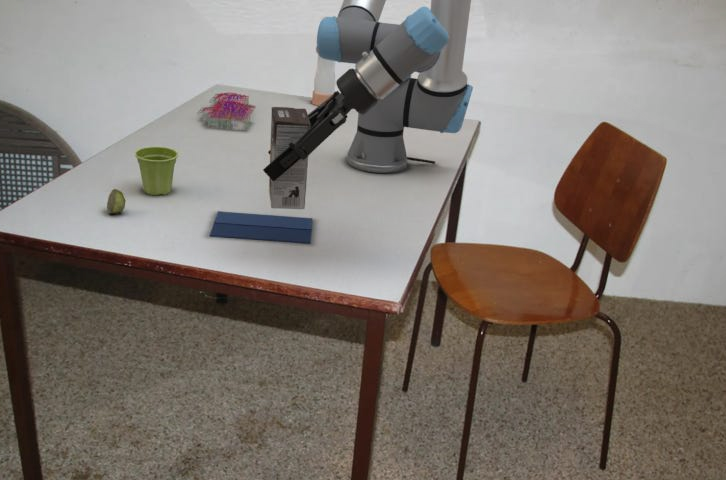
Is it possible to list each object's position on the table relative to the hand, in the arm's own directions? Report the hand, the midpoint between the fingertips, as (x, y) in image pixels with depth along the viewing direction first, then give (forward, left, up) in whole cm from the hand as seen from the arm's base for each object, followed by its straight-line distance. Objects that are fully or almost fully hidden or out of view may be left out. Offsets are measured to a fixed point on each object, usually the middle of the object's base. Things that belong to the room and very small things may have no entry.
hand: (270, 166), depth 144 cm
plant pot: (+27, -28, -18) cm, 43 cm away
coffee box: (-3, 0, -7) cm, 7 cm away
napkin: (+2, -12, -17) cm, 21 cm away
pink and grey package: (+19, -92, -17) cm, 96 cm away
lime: (+33, -14, -18) cm, 40 cm away
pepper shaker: (-8, -114, -17) cm, 116 cm away
